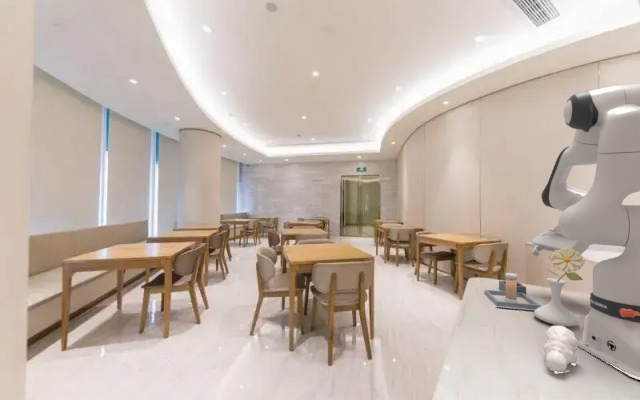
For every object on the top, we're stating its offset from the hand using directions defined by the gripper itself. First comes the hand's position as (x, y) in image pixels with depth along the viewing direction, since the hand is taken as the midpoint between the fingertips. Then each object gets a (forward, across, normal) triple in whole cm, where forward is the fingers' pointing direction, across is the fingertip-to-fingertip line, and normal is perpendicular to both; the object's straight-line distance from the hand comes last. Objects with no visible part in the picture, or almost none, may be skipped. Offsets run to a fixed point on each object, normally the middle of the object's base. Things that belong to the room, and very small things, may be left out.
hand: (542, 257), depth 107 cm
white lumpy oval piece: (+31, +42, -5) cm, 52 cm away
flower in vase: (+17, +17, +9) cm, 26 cm away
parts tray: (+21, 0, +5) cm, 21 cm away
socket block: (+16, -11, +10) cm, 22 cm away
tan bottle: (+20, 0, +4) cm, 21 cm away
